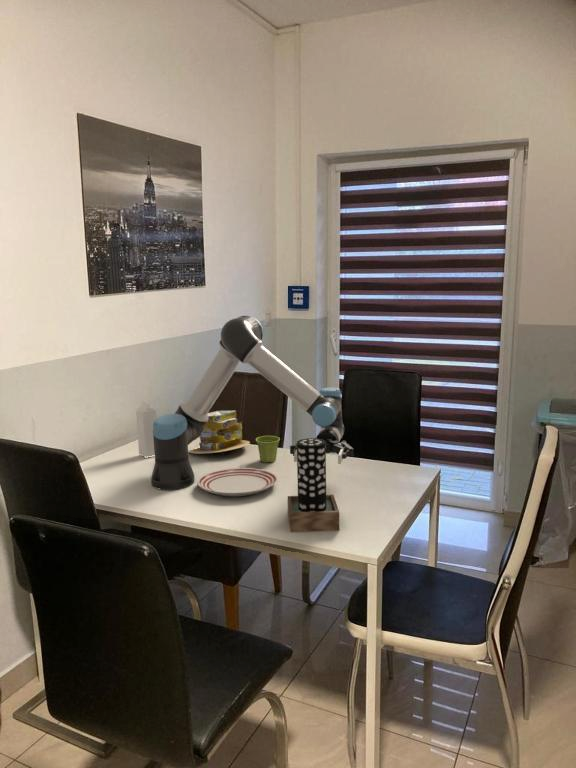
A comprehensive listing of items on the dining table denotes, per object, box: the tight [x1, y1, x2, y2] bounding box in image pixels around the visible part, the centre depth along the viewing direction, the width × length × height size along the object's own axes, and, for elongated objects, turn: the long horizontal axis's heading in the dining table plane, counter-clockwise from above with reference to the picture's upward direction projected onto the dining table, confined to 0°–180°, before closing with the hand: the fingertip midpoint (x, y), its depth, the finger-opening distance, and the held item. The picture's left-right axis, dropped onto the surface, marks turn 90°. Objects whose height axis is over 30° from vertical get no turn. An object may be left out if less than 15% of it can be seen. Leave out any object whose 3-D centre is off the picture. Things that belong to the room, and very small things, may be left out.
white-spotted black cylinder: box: [296, 437, 327, 512], centre depth 183 cm, size 8×8×20 cm
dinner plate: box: [196, 467, 279, 497], centre depth 216 cm, size 28×27×3 cm
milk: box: [135, 401, 158, 457], centre depth 253 cm, size 6×6×22 cm
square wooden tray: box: [287, 494, 340, 533], centre depth 185 cm, size 14×14×6 cm
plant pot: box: [255, 435, 281, 463], centre depth 244 cm, size 9×9×9 cm
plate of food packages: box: [188, 409, 251, 455], centre depth 258 cm, size 25×25×17 cm
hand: (317, 458), depth 192 cm, fingers open, 13 cm apart
